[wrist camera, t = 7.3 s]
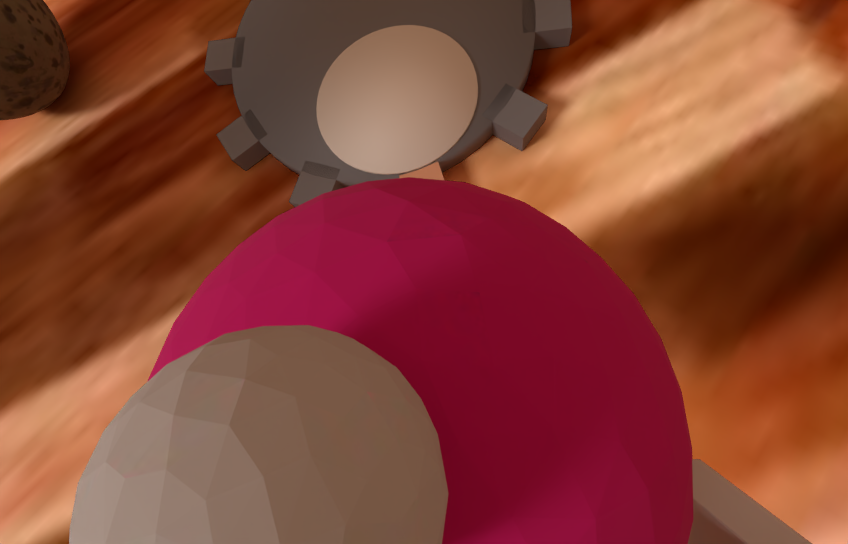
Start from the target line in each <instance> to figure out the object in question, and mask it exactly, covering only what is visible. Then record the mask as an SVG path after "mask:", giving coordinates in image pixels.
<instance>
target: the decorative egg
mask: <svg viewBox="0 0 848 544" xmlns="http://www.w3.org/2000/svg"><path fill="white" fill-rule="evenodd" d="M69 69H70V59H69V51H68V47H67V44H66V40H65V37H64V35H63V32H62V30H61V28H60V26H59V24H58V22H57V20H56V19H55V17H54V15H53V13H52V12H51V10H50V9H49V8H48V6H47V5H46V3H45V2H44V1H43V0H0V120H9V119H16V118H21V117H26V116H29V115H32V114H34V113H37V112H39V111H41V110H43V109H45V108H46V107H48V106H49V105H51V104H52V103H53V102H54V101H55V100H56V99H57V98H58V97H59V96H60V95H61V93H62V92H63V90H64V88H65V86H66V83H67V80H68V76H69Z"/></svg>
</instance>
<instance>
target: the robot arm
mask: <svg viewBox="0 0 848 544" xmlns="http://www.w3.org/2000/svg"><path fill="white" fill-rule="evenodd" d="M692 471H693V523H692V528H691V532H690V536H689V541H688V544H812V543H810V542H809V541H808V540H806V539H805V538H804V537H803V536H801V535H800V534H799V533H797V532H796V531H795V530H793V529H792V528H791V527H789V526H788V525H787V524H785V523H784V522H783V521H781V520H780V519H779V518H777V517H776V516H775V515H773V514H772V513H771V512H769V511H768V510H767V509H765V508H764V507H763V506H761V505H760V504H759V503H757V502H756V501H755V500H753V499H752V498H751V497H749V496H748V495H747V494H745V493H744V492H743V491H741V490H740V489H739V488H737V487H736V486H735V485H733V484H732V483H731V482H729V481H728V480H727V479H725V478H724V477H723V476H721V475H720V474H719V473H717V472H716V471H715V470H713V469H712V468H711V467H709V466H708V465H707V464H705V463H704V462H703V461H701V460H700V459H692Z"/></svg>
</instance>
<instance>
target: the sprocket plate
mask: <svg viewBox="0 0 848 544" xmlns="http://www.w3.org/2000/svg"><path fill="white" fill-rule="evenodd" d="M571 31H572V17H571V2H570V0H251V2H250V3H249V5H248V7H247V9H246V11H245V13H244V15H243V18H242V20H241V23H240V25H239V28H238V32H237V35H236V38H229V39H222V40H214V41H209V42H208V49H207V56H206V63H205V69H204V72H205V73H206V74H207V75H208V76H209V77H210V78H211V79H212V80H213V81H214V82H215V83H216V84H217V85H226V84H233V89H234V94H235V98H236V101H237V105H238V108H239V110H240V112H241V115H242V116H240V117H239V118H238V119H236V120H235V121H234V122H232V123H231V124H230V125H228V126H227V127H226V128H224V129H223V130H222V131H220V132H219V133H218V134H216V135H217V137H218V138H219V140H220V141H221V143H222V145H223V146H224V148H225V150H226V151H227V153H228V154H229V156H230V158H231V159H232V161H234V162H235V163H236V164H237V165H239V166H240V167H241V168H243V169H244V170H245V171H247V170H248V169H249V168H251V167H252V166H253V165H255V164H256V163H257V162H259V161H260V160H261V159H263V158H264V157H265V156H267V155H268V154H269V153H271V154H272V155H273V156H274V157H275V158H277V159H278V160H279V161H280V162H281V163H283V164H284V165H285V166H286V167H288V168H289V169H290V170H292V171H293V172H295V173H297V174H299V175H300V176H299V178H298V181H297V183H296V186H295V188H294V190H293V193H292V195H291V198H290V200H289V202H290V203H291V204H292V205H293V206H295V207H297V206H299V205H301V204H303V203H305V202H307V201H309V200H311V199H313V198H315V197H317V196H319V195H321V194H323V193H327V192H331V191H334V190H338V189H341V188H345V187H349V186H352V185H356V184H359V183H363V182H367V181H376V180H386V179H396V178H407V177H413V178H424V179H435V180H444V177H443V174H442V172H444V171H446V170H448V169H449V168H451V167H453V166H455V165H456V164H458V163H460V162H461V161H463V160H464V159H466V158H467V157H468V156H470V155H471V154H472V153H473V152H475V151H476V150H477V149H479V148H480V147H481V146H482V145H483V144H484V143H485V142H486V141H487V140H488V139H489V138H490V137H491V136H492V135H494V136H496V137H498V138H500V139H501V140H503V141H505V142H507V143H508V144H510V145H512V146H514V147H516V148H517V149H519V150H521V151H523V150H524V148H525V147H526V145H527V144H528V143H529V141H530V140H531V139H532V137H533V136H534V135H535V133H536V132H537V131H538V129H539V128H540V126H541V125H542V124H543V122H544V121H545V120H546V113H547V106H548V105H547V104H545V103H543V102H541V101H539V100H537V99H535V98H533V97H531V96H529V95H527V94H526V93H524V92H522V91H523V89H524V86H525V84H526V82H527V79H528V75H529V72H530V68H531V65H532V60H533V52H534V50H537V49H546V48H555V47H564V46H569V42H570V37H571Z"/></svg>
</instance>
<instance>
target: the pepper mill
mask: <svg viewBox="0 0 848 544" xmlns="http://www.w3.org/2000/svg"><path fill="white" fill-rule="evenodd" d="M692 523H693V471H692V446H691V441H690V435H689V430H688V424H687V419H686V413H685V408H684V403H683V397H682V392H681V389H680V386H679V384H678V381H677V379H676V376H675V373H674V371H673V368H672V366H671V363H670V360H669V358H668V355H667V353H666V350H665V347H664V345H663V342H662V340H661V338H660V336H659V334H658V333H657V331H656V330H655V328H654V326H653V325H652V323H651V321H650V320H649V318H648V316H647V315H646V313H645V311H644V310H643V308H642V306H641V305H640V303H639V301H638V300H637V298H636V296H635V295H634V293H633V292H632V291H631V290H630V289H629V288H628V287H627V286H626V285H625V283H624V282H623V281H622V280H621V279H620V278H619V277H618V276H617V274H616V273H615V272H614V271H613V270H612V269H611V268H610V267H609V266H608V264H607V263H606V262H605V261H604V260H603V259H602V258H601V257H600V256H599V255H598V254H597V253H595V252H594V251H593V250H592V249H591V248H590V247H588V246H587V245H586V244H585V243H584V242H583V241H581V240H580V239H579V238H578V237H577V236H576V235H574V234H573V233H572V232H571V231H570V230H569V229H567V228H566V227H565V226H563V225H561V224H560V223H558V222H556V221H555V220H553V219H551V218H550V217H548V216H546V215H545V214H543V213H541V212H540V211H538V210H536V209H535V208H533V207H531V206H530V205H528V204H526V203H525V202H522V201H520V200H517V199H514V198H512V197H509V196H506V195H504V194H501V193H497V192H494V191H491V190H488V189H485V188H481V187H478V186H475V185H472V184H469V183H466V182H457V181H446V180H435V179H424V178H413V177H407V178H396V179H386V180H376V181H367V182H363V183H359V184H356V185H352V186H349V187H345V188H341V189H338V190H334V191H331V192H327V193H323V194H321V195H319V196H317V197H315V198H313V199H311V200H309V201H307V202H305V203H303V204H301V205H299V206H297V207H295V208H293V209H291V210H289V211H287V212H285V213H282V214H280V215H278V216H277V217H275V218H274V219H273V220H271V221H270V222H269V223H267V224H266V225H265V226H263V227H262V228H261V229H259V230H258V231H257V232H255V233H254V234H253V235H251V236H250V237H249V238H247V239H246V240H244V241H243V242H242V243H240V244H239V245H238V246H237V247H236V248H235V249H234V250H233V251H232V252H231V253H230V254H229V255H228V256H227V257H226V258H225V259H224V260H223V261H222V262H221V263H220V264H219V265H218V266H217V267H216V268H215V269H214V270H213V271H212V272H211V273H210V274H209V275H208V276H207V277H206V278H205V280H204V281H203V283H202V284H201V285H200V287H199V288H198V290H197V291H196V292H195V294H194V295H193V297H192V298H191V299H190V301H189V302H188V304H187V305H186V306H185V308H184V309H183V311H182V312H181V313H180V315H179V316H178V318H177V319H176V320H175V322H174V324H173V326H172V328H171V330H170V332H169V335H168V337H167V339H166V341H165V344H164V346H163V348H162V350H161V352H160V355H159V357H158V359H157V361H156V363H155V366H154V368H153V370H152V372H151V375H150V377H149V379H148V381H147V383H146V384H145V385H143V386H142V387H141V388H140V389H139V390H138V391H137V392H136V393H135V394H133V395H132V397H131V398H130V399H129V400H128V401H127V403H126V404H125V405H124V406H123V408H122V409H121V410H120V411H119V413H118V414H117V415H116V416H115V417H114V419H113V420H112V421H111V422H110V424H109V425H108V426H107V427H106V429H105V430H104V432H103V434H102V436H101V438H100V440H99V442H98V444H97V446H96V448H95V450H94V452H93V454H92V456H91V458H90V460H89V462H88V464H87V466H86V468H85V470H84V472H83V474H82V476H81V478H80V480H79V482H78V486H77V492H76V497H75V503H74V508H73V514H72V519H71V525H70V536H69V544H688V541H689V536H690V532H691V528H692Z"/></svg>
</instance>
